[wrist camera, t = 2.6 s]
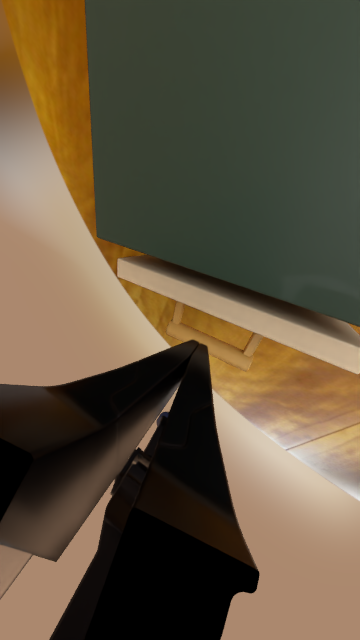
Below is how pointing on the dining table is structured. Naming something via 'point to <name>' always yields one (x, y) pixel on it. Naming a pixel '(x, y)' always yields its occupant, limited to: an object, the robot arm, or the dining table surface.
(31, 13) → the dining table surface
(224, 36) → the cabinet
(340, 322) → the drawer
